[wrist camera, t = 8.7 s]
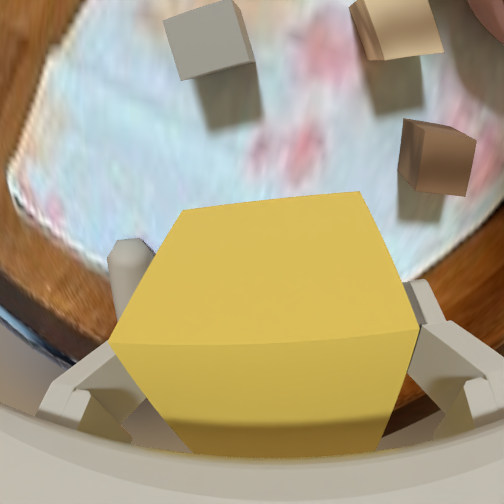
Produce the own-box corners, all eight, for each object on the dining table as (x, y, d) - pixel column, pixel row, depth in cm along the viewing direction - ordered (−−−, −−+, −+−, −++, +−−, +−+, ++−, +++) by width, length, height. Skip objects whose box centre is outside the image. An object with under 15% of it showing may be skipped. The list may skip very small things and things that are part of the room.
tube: (94, 245, 30) (124, 380, 44) (130, 263, 29) (151, 397, 42) (127, 224, 34) (143, 358, 48) (164, 239, 33) (170, 374, 46)
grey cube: (183, 27, 21) (162, 20, 17) (240, 9, 20) (230, -2, 16) (198, 77, 24) (180, 80, 20) (255, 61, 23) (249, 60, 19)
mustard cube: (182, 210, 9) (107, 341, 5) (359, 191, 8) (419, 328, 4) (220, 330, 12) (194, 453, 8) (355, 321, 11) (375, 450, 7)
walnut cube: (403, 118, 24) (425, 130, 20) (449, 126, 23) (476, 140, 19) (397, 170, 27) (415, 191, 22) (441, 175, 26) (465, 196, 22)
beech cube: (348, 7, 19) (362, -4, 15) (401, 0, 18) (424, -10, 14) (367, 60, 22) (384, 60, 17) (418, 52, 20) (444, 52, 16)
